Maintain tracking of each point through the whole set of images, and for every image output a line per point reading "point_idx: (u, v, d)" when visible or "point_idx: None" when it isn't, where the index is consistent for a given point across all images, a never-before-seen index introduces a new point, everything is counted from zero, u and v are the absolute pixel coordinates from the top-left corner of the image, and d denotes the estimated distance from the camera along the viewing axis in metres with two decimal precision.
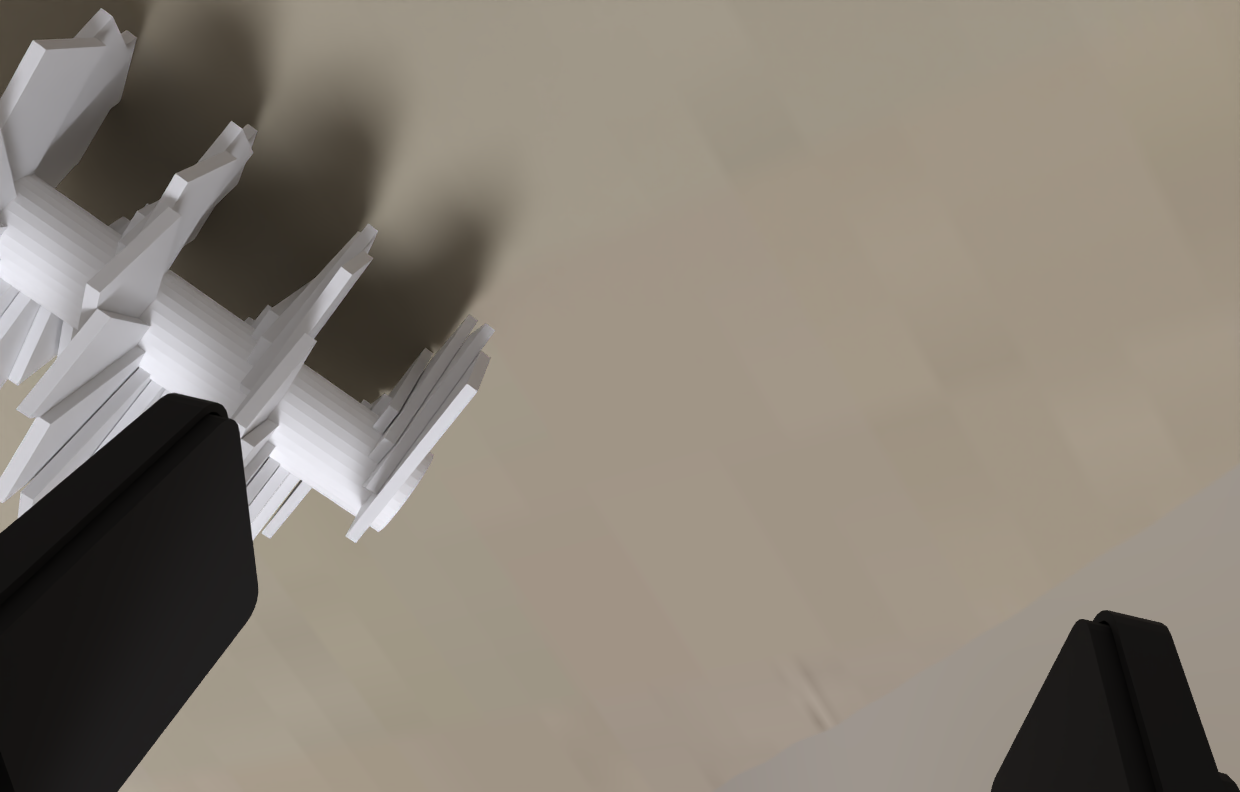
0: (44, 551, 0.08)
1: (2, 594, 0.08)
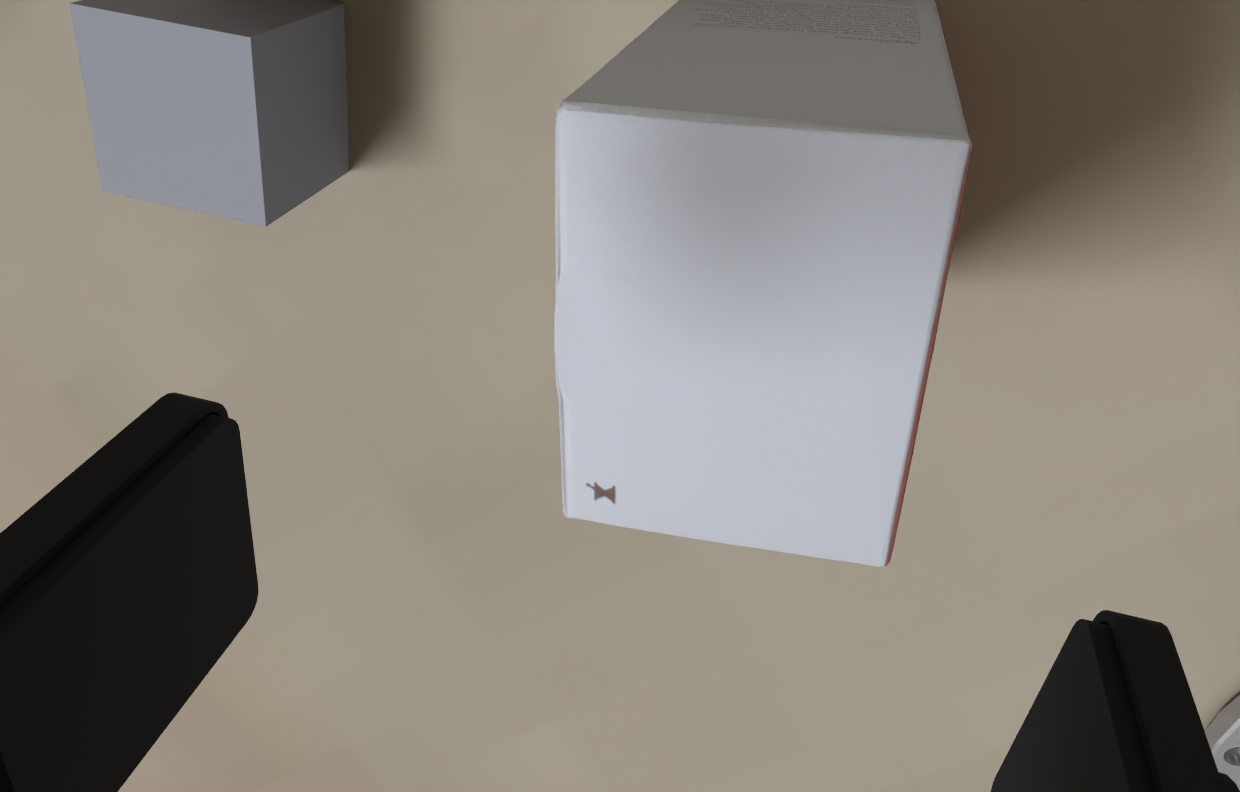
0: (44, 551, 0.08)
1: (2, 594, 0.08)
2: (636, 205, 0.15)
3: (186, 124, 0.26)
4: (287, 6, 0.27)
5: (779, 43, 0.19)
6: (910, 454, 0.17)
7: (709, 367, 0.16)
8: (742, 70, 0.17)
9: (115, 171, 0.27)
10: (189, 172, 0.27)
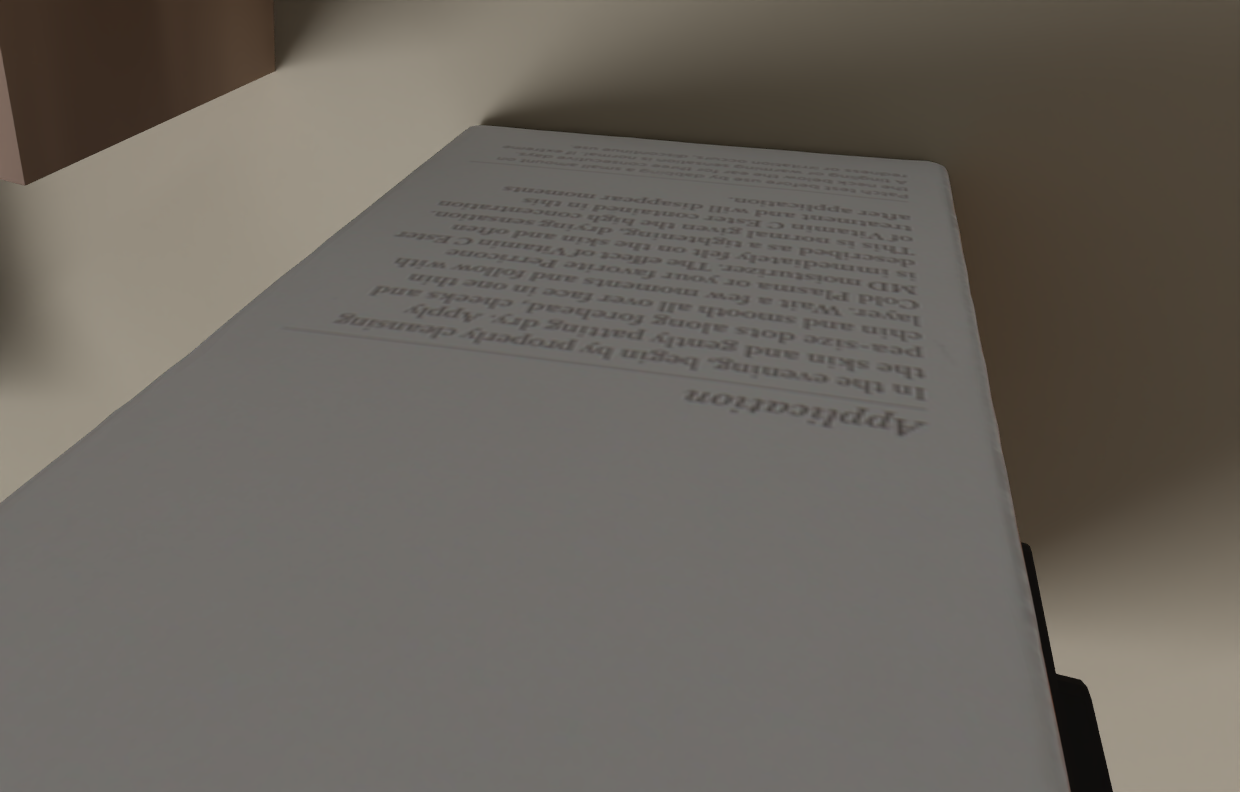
0: None
1: None
2: None
3: None
4: None
5: (506, 454, 0.06)
6: None
7: None
8: (239, 765, 0.04)
9: None
10: None
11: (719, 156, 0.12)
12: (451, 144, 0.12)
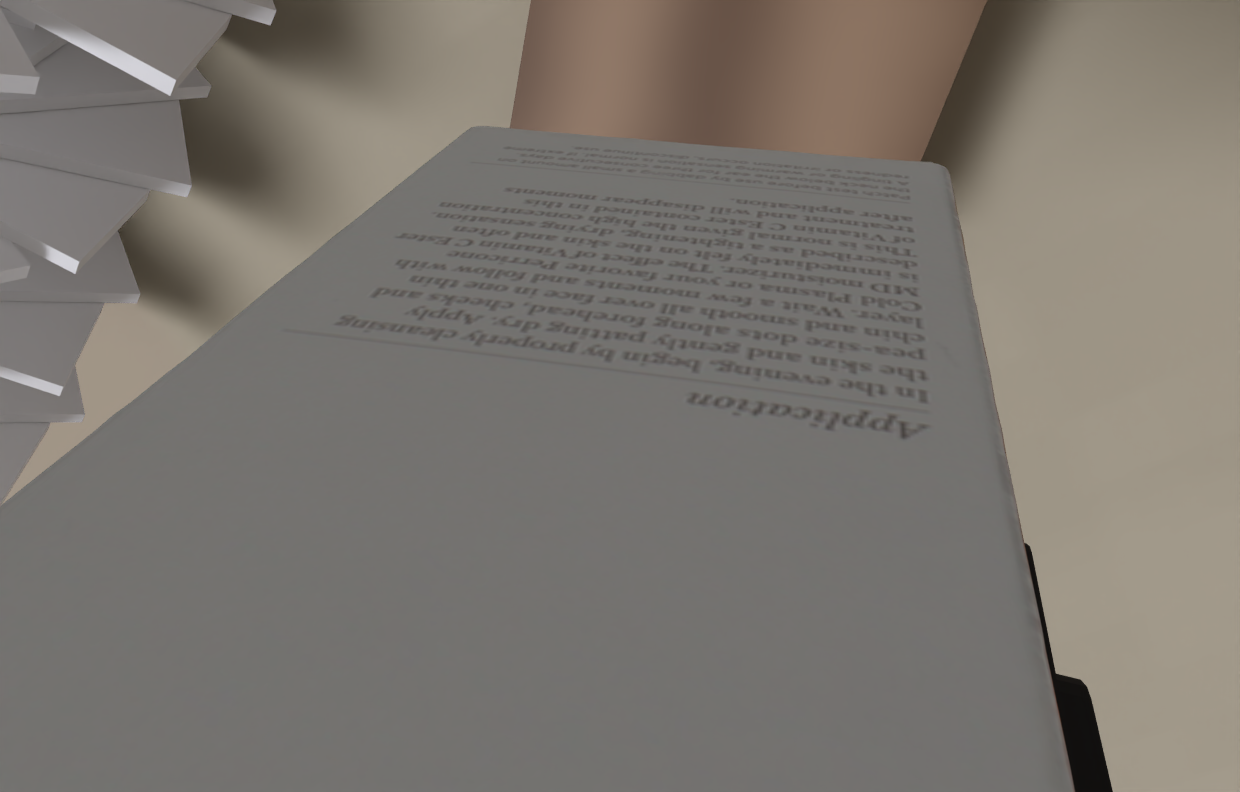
0: None
1: None
2: None
3: None
4: None
5: (509, 458, 0.06)
6: None
7: None
8: (238, 772, 0.04)
9: None
10: None
11: (721, 157, 0.12)
12: (452, 145, 0.12)
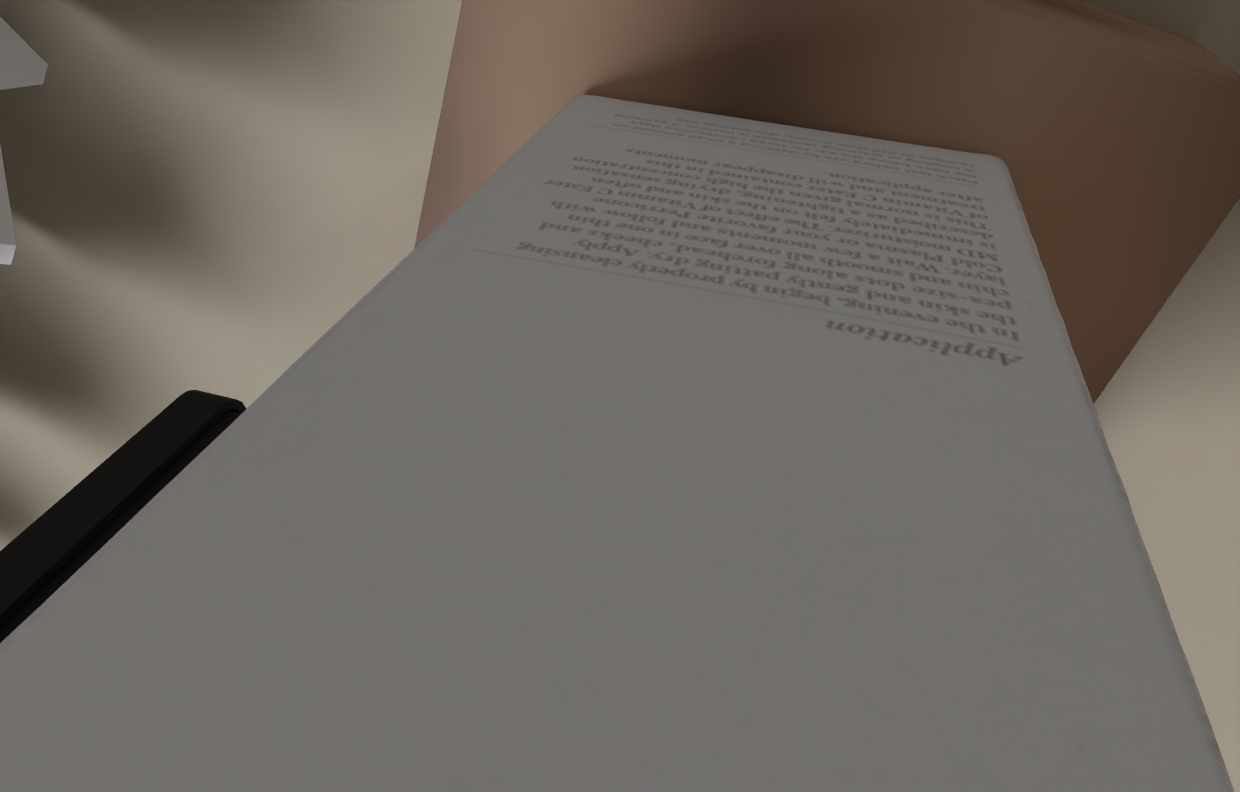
0: (70, 546, 0.09)
1: (30, 588, 0.08)
2: None
3: None
4: None
5: (693, 356, 0.08)
6: None
7: None
8: (557, 548, 0.06)
9: None
10: None
11: (806, 137, 0.13)
12: (566, 109, 0.13)
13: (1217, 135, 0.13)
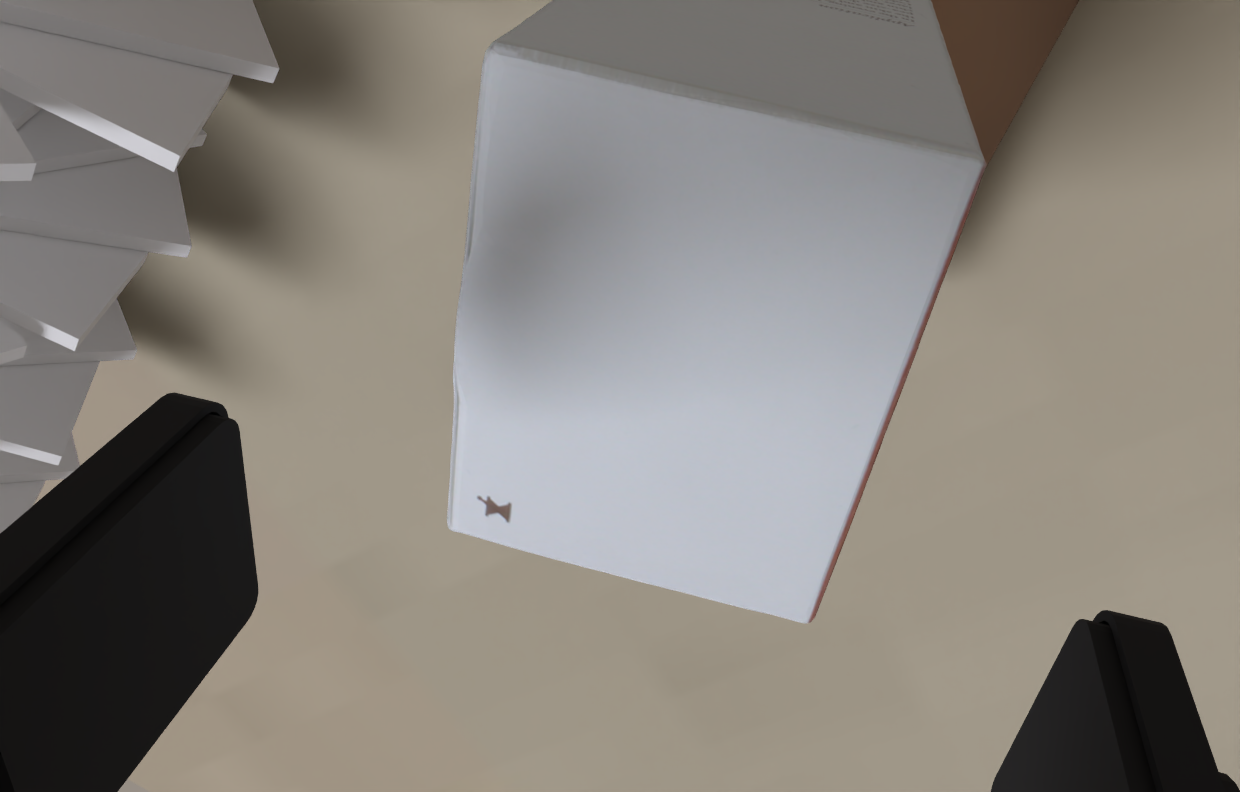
0: (44, 551, 0.08)
1: (2, 594, 0.08)
2: (572, 183, 0.12)
3: None
4: None
5: (757, 3, 0.16)
6: (855, 507, 0.14)
7: (637, 384, 0.14)
8: (715, 31, 0.14)
9: None
10: None
11: None
12: None
13: None
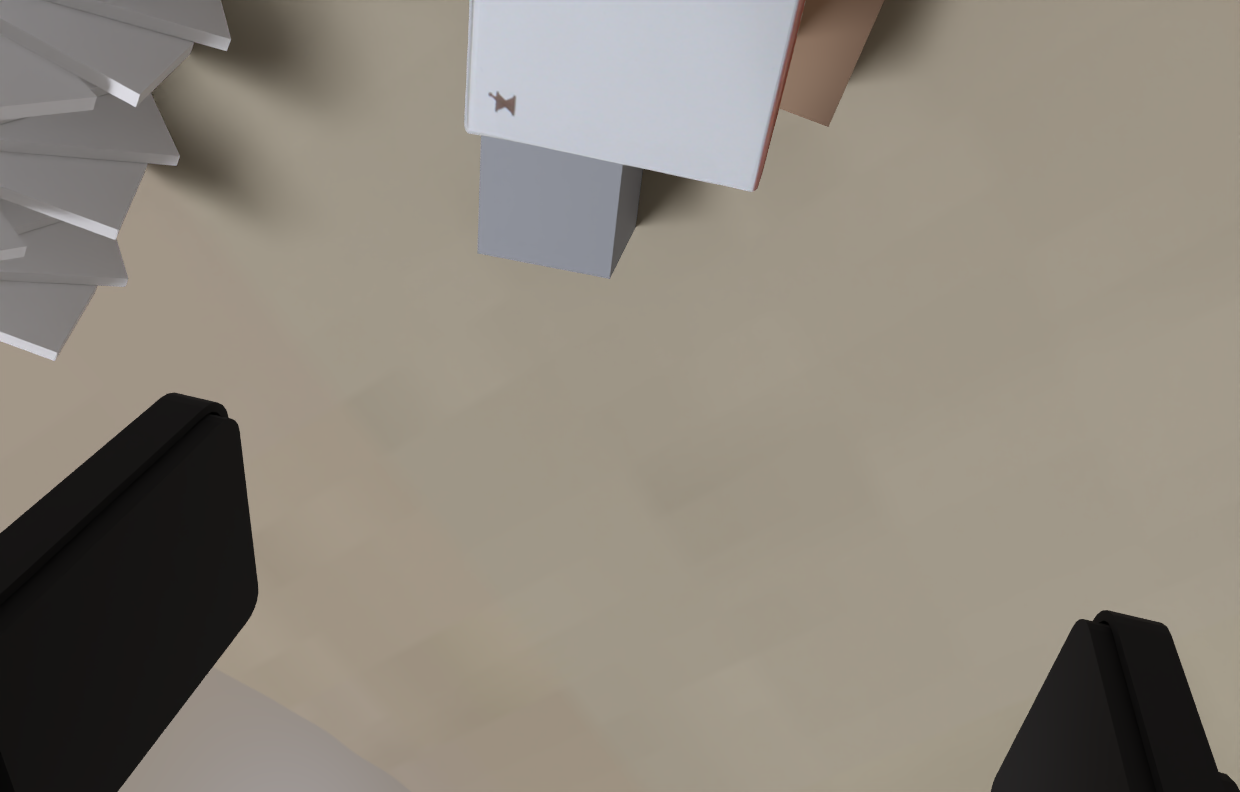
0: (44, 551, 0.08)
1: (2, 594, 0.08)
2: None
3: (559, 205, 0.34)
4: None
5: None
6: (785, 70, 0.18)
7: None
8: None
9: (492, 238, 0.36)
10: (554, 240, 0.35)
11: None
12: None
13: None
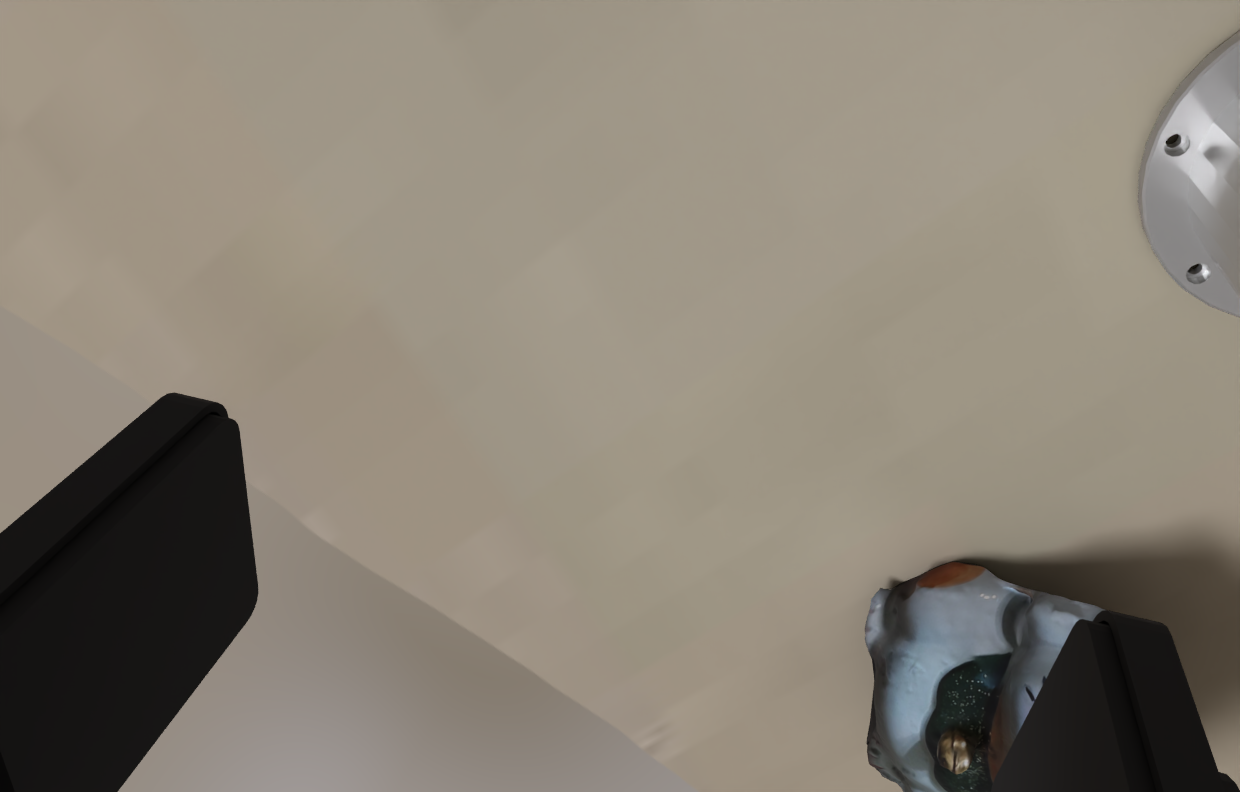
0: (44, 551, 0.08)
1: (1, 594, 0.08)
2: None
3: None
4: None
5: None
6: None
7: None
8: None
9: None
10: None
11: None
12: None
13: None
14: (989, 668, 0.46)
